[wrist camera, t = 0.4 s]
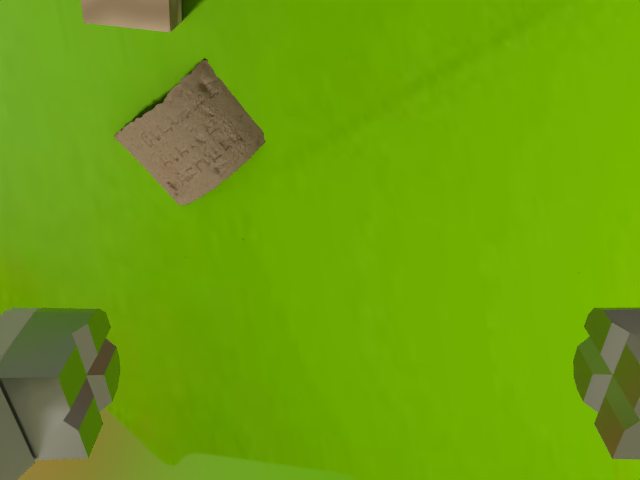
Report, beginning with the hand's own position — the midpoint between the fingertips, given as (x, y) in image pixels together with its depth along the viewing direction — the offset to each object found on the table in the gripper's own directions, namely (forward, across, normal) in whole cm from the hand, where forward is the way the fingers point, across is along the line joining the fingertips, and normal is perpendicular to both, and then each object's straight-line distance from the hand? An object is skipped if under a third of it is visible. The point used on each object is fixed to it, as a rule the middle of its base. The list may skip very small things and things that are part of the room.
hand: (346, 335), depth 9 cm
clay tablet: (+46, +14, +14) cm, 50 cm away
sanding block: (+45, +16, +1) cm, 48 cm away
